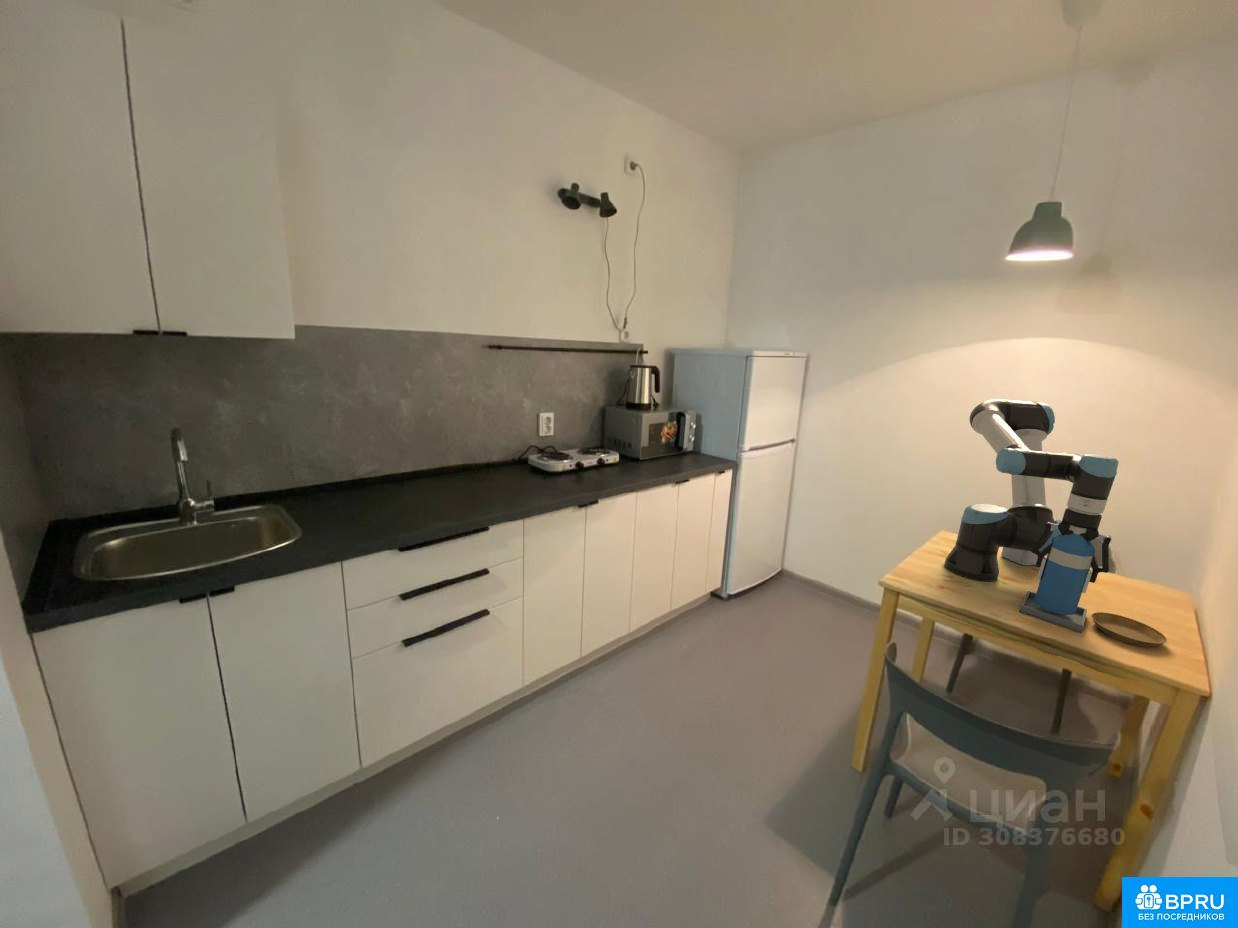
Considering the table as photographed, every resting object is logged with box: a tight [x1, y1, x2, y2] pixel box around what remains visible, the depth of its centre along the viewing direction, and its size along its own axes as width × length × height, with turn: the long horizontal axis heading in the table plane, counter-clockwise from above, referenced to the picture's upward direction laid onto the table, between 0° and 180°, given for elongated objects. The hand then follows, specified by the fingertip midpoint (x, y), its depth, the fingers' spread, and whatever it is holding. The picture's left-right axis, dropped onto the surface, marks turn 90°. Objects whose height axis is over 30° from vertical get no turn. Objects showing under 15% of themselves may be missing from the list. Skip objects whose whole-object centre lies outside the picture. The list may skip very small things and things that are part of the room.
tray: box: [1018, 590, 1088, 634], centre depth 144 cm, size 14×14×2 cm
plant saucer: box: [1090, 611, 1168, 648], centre depth 135 cm, size 15×15×3 cm
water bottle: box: [1035, 525, 1096, 615], centre depth 140 cm, size 9×9×25 cm
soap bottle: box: [1001, 547, 1038, 566], centre depth 178 cm, size 9×9×25 cm
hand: (1060, 584), depth 142 cm, fingers closed on water bottle, 9 cm apart
